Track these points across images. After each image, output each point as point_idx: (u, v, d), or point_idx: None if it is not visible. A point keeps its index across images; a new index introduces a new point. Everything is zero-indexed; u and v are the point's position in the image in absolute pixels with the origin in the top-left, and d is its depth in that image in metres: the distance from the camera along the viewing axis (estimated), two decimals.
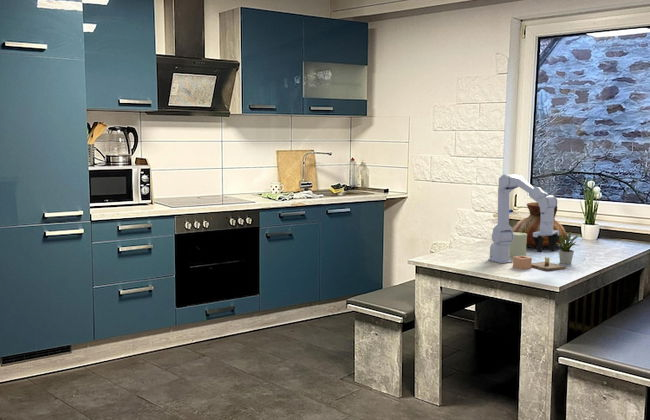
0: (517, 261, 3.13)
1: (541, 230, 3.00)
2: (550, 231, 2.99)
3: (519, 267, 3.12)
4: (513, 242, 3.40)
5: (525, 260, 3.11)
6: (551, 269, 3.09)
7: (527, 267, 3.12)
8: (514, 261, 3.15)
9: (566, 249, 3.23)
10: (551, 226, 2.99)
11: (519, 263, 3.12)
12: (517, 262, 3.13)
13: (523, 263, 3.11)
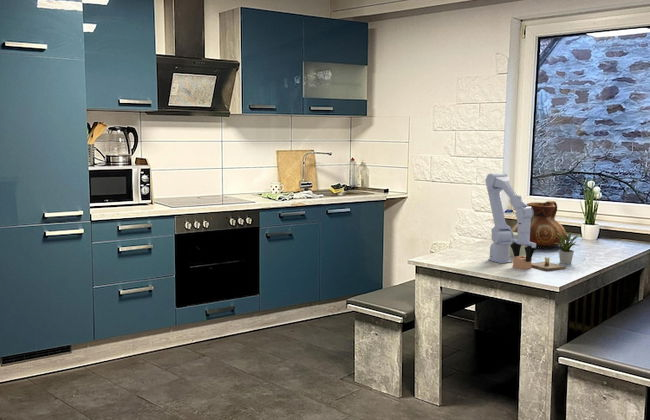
0: (517, 261, 3.13)
1: None
2: (518, 240, 3.12)
3: (519, 267, 3.12)
4: None
5: (525, 260, 3.11)
6: (551, 269, 3.09)
7: (527, 267, 3.12)
8: (514, 261, 3.15)
9: (566, 249, 3.23)
10: (519, 235, 3.11)
11: (519, 263, 3.12)
12: (517, 262, 3.13)
13: (523, 263, 3.11)
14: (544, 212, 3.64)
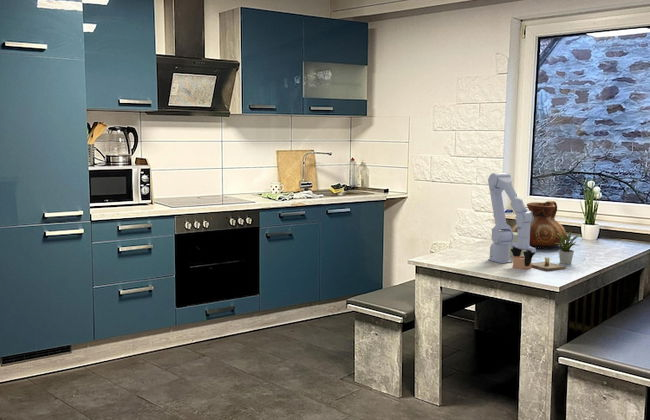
0: (517, 261, 3.13)
1: None
2: (518, 245, 3.12)
3: (519, 267, 3.12)
4: (513, 242, 3.40)
5: None
6: (551, 269, 3.09)
7: (527, 267, 3.12)
8: (514, 261, 3.15)
9: (566, 249, 3.23)
10: (519, 240, 3.12)
11: (519, 263, 3.12)
12: (517, 262, 3.13)
13: (523, 263, 3.11)
14: (544, 212, 3.64)
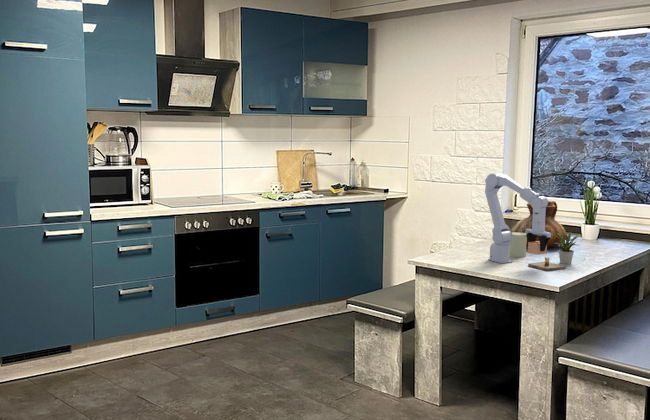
0: (532, 246, 3.13)
1: None
2: (533, 230, 3.12)
3: (534, 252, 3.11)
4: (513, 242, 3.40)
5: None
6: (551, 269, 3.09)
7: (542, 252, 3.12)
8: (529, 247, 3.14)
9: (566, 249, 3.23)
10: (534, 225, 3.11)
11: (534, 248, 3.11)
12: (532, 247, 3.12)
13: (538, 248, 3.10)
14: None
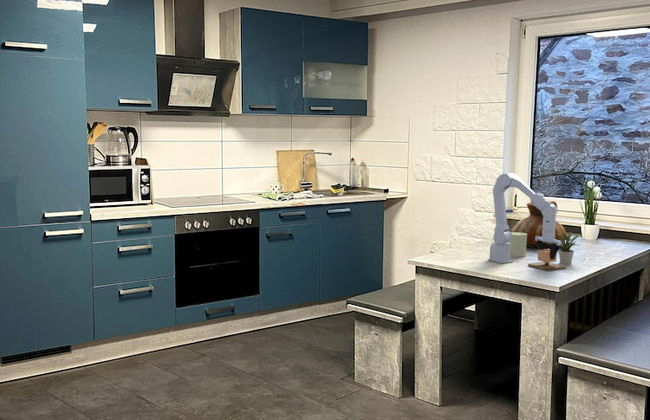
0: (542, 254, 3.13)
1: None
2: (543, 238, 3.13)
3: (544, 260, 3.12)
4: (513, 242, 3.40)
5: None
6: (551, 269, 3.09)
7: (552, 260, 3.13)
8: (539, 254, 3.15)
9: (566, 249, 3.23)
10: (544, 233, 3.12)
11: (544, 256, 3.12)
12: (542, 255, 3.13)
13: (548, 256, 3.11)
14: None
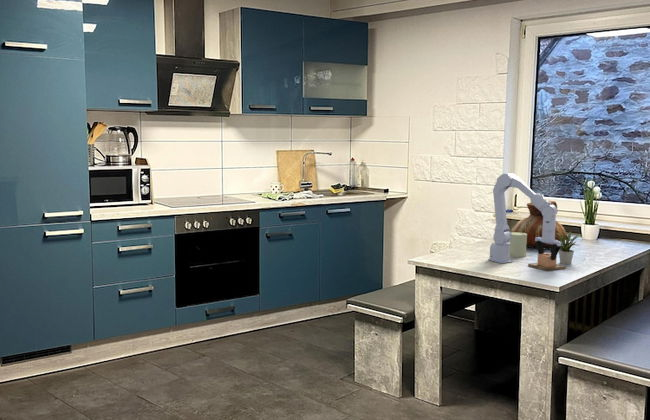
0: (541, 258, 3.14)
1: None
2: (543, 238, 3.13)
3: (544, 264, 3.13)
4: (513, 242, 3.40)
5: (550, 257, 3.12)
6: (551, 269, 3.09)
7: (552, 264, 3.13)
8: (539, 259, 3.15)
9: (566, 249, 3.23)
10: (544, 234, 3.12)
11: (544, 260, 3.12)
12: (542, 259, 3.14)
13: (548, 260, 3.11)
14: None
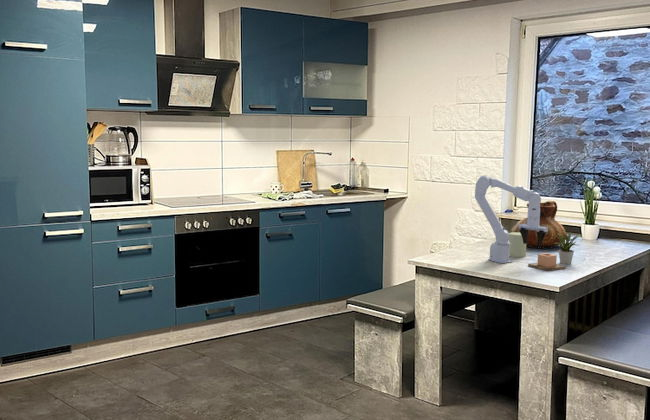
0: (541, 258, 3.14)
1: None
2: (529, 225, 3.20)
3: (544, 264, 3.13)
4: (513, 242, 3.40)
5: (550, 257, 3.12)
6: (551, 269, 3.09)
7: (552, 264, 3.13)
8: (539, 259, 3.15)
9: (566, 249, 3.23)
10: (530, 221, 3.19)
11: (544, 260, 3.12)
12: (542, 259, 3.14)
13: (548, 260, 3.11)
14: (544, 212, 3.64)
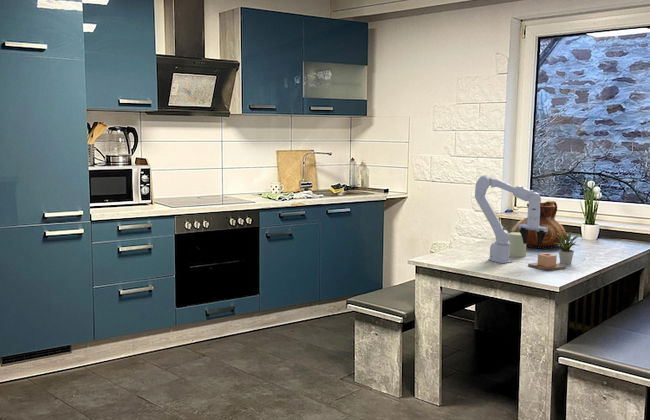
0: (541, 258, 3.14)
1: None
2: (529, 225, 3.20)
3: (544, 264, 3.13)
4: (513, 242, 3.40)
5: (550, 257, 3.12)
6: (551, 269, 3.09)
7: (552, 264, 3.13)
8: (539, 259, 3.15)
9: (566, 249, 3.23)
10: (530, 221, 3.19)
11: (544, 260, 3.12)
12: (542, 259, 3.14)
13: (548, 260, 3.11)
14: (544, 212, 3.64)
